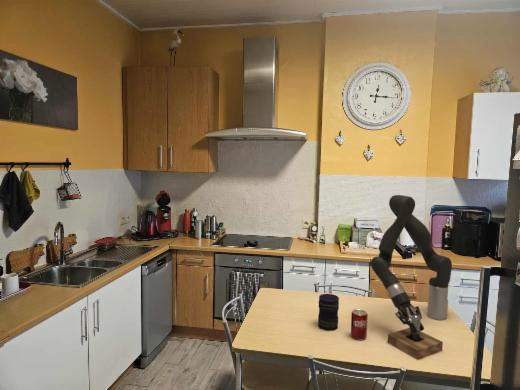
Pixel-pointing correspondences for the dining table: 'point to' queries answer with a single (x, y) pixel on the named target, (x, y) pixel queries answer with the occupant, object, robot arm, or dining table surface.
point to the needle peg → (416, 321)
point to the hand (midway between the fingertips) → (419, 331)
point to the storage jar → (328, 312)
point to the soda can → (359, 324)
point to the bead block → (415, 343)
